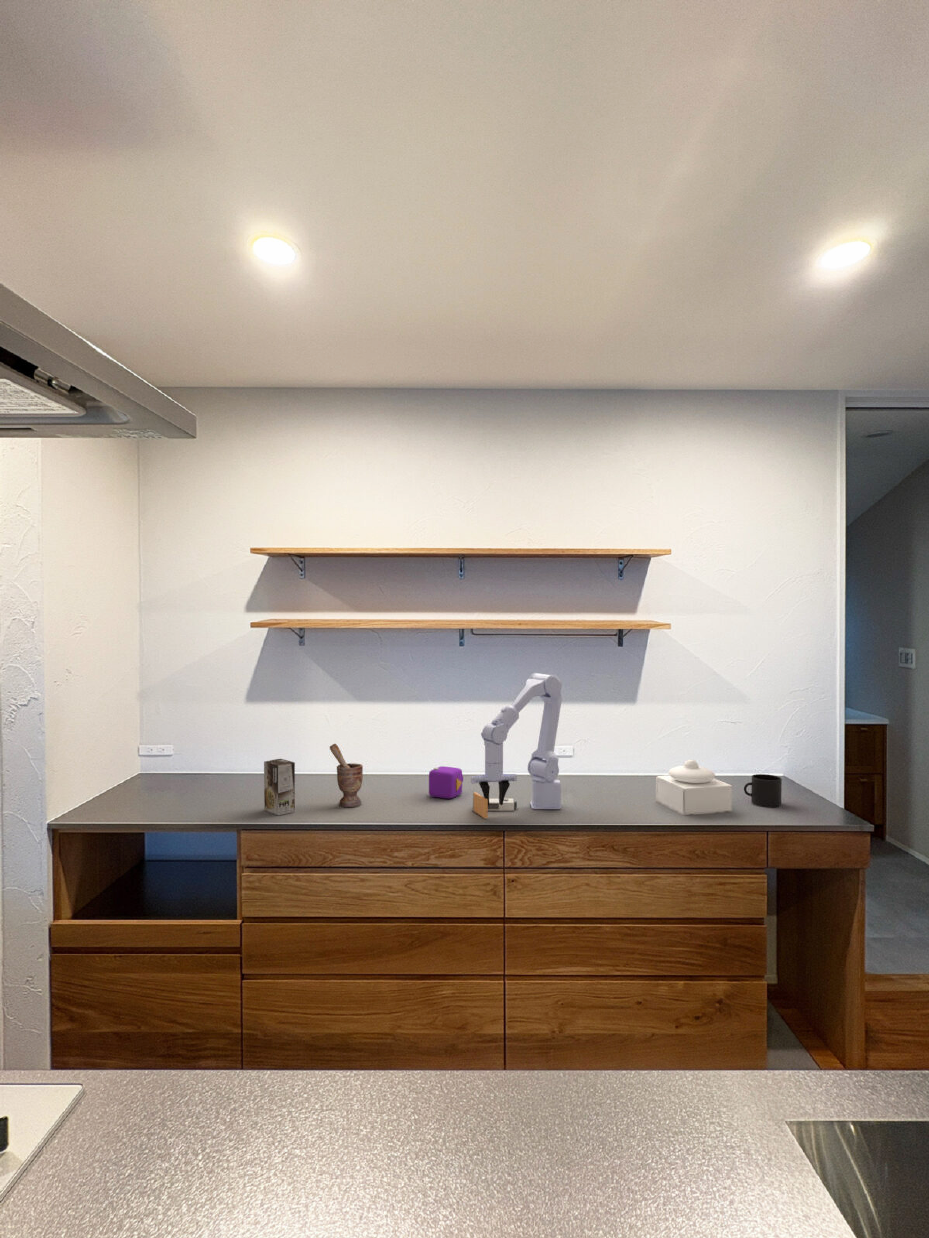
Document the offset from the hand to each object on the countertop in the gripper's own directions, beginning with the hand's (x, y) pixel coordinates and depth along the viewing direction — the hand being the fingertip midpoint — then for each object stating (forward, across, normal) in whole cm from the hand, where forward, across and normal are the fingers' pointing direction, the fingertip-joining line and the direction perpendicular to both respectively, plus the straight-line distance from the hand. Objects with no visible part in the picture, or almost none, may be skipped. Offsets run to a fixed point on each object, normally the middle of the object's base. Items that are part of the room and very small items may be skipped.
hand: (493, 804), depth 232 cm
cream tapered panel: (+4, -2, -8) cm, 9 cm away
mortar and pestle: (+4, +46, -23) cm, 51 cm away
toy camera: (+4, +10, -28) cm, 30 cm away
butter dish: (+4, -68, +2) cm, 68 cm away
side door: (+3, +4, -2) cm, 6 cm away
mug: (+4, -93, +4) cm, 93 cm away
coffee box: (+4, +67, -19) cm, 69 cm away
